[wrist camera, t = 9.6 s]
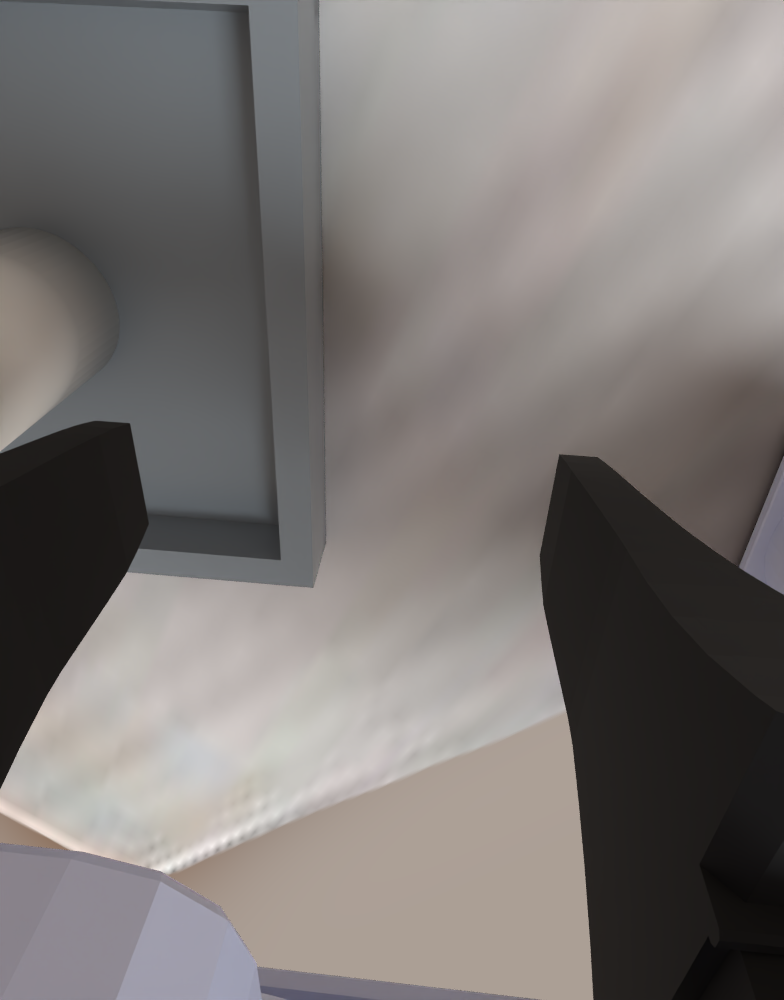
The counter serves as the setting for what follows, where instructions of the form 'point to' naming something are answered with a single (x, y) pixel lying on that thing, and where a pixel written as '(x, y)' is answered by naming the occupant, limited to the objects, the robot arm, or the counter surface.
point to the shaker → (48, 325)
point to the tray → (187, 256)
